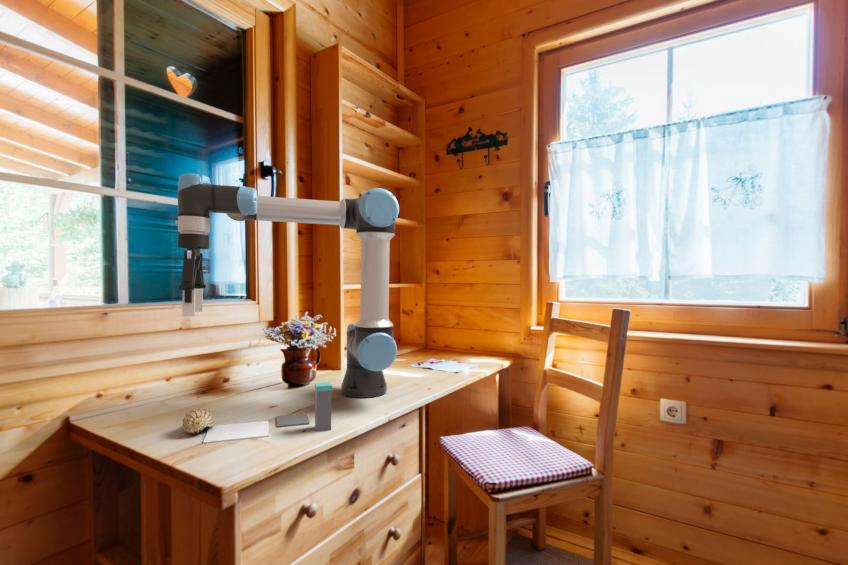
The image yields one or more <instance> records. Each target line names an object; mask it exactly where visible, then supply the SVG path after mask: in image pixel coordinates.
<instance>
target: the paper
mask: <svg viewBox="0 0 848 565" xmlns="http://www.w3.org/2000/svg"><path fill="white" fill-rule="evenodd" d="M269 428H270V427H269V420H262V421H250V422H242V423H241V422H240V423H229V424H218V425H215V426H213V427H208V430H207V432H206V433H205V436H204V439H203V443H202V444H211V443H218V442H219V443H221V442H230V441H238V440H239V441H240V440H248V439H257V438H268V437H270V436H269V434H270V433H269V431H270V430H269Z"/></svg>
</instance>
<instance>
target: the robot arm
mask: <svg viewBox="0 0 848 565" xmlns="http://www.w3.org/2000/svg"><path fill="white" fill-rule="evenodd" d="M211 213H213V214H226V215H227V217H229V218H230V219H232V221H237V222H244V221H260V222H261V221H262V222H276V223H277V222H279V223H280V222H281V223H295V224H296V223H297V224H313V225H315V224H316V225H329V226H331V225H332V226H339V227H340V228H341V229H343V230H344V229H347V230H356V232H355V233H356V234H355V235H356V236H357V237H358V238H359V239H360V243H361V244H360V304H359V306H360V310H359V311H360V313H359V320H358V321H356V322H355V323H350V324H348V326H347V328H346V371H345V372H344V376H343V380H342V383H341V386H340V393H341V395H343V396H345V397H349V398H359V399H365V398H375V397H380V396H383V395H385V394H386V393H387V391H388V387H387V382H386V379H385V375H384V372H383V371H384V370H386V369H388V368H390V366H392V365H393V364H394V362H395V360H396V358H397V355H398V346H397V343H396V340H395V339H394V323H393V322H392V321H391V320H390V318H389V316H390V315H389V314H390V313H389V308H390V306H389V304H390V251H391V250H390V245H391V243H390V241H391V240H392V239H393V238H394V237H395V235H396V234H395V233H396V232H395V231H396V221H397V219H398V216H399V213H400V205H399V202H398V200H397V198H396V196H395V195H394V194H393V193H392V192H391V191H390V190H388V189H385V188H379V187H375V188H371V189H368V190H366V191H364V192H363V193H362V194H361V196H360V197H356V198H342V199H341V200H339V201H336V200H325V199H324V200H323V199H322V200H321V199H309V198H308V199H307V198H296V197H295V198H294V197H293V198H292V197H280V196H279V197H278V196H269V195H268V196H267V195H258V191H257V189H256V188H254V187H249V186H245V185H242V186H236V185H225V184H224V185H221V184H213V183H211V179H210V177H208V176H207V175H203V174H198V173H184V174H181V175H180V176H178V184H177V220H175V221H174V223H175V225H177V232H179V233H178V234H177V244H176V245H177V248H179V249H186V250H183V252H182V253H183V261H182V272H181V280H180V281H181V282H180V285H179V286H178V290H179V291H182V298H181V299H182V301H181V302H182V306H181V307H182V308H181V309H182V313H181V314H182V317H195V316H196V312H197V313H200V312H201V313H202V312H204V311H203V310H204V299H203V298H204V296H203V295H204V289H206V288H207V285H206V284H205V282H204V279H205V278H204V267H203V266H204V265H203V260H204V257H203V256H204V254H203V253H201V250H209V248H210V236H209V235H208V234H210V232H211V231H210V230H211V229H210V228H211V219H210V218H211V217H210V214H211Z"/></svg>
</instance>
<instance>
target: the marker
mask: <svg viewBox="0 0 848 565" xmlns="http://www.w3.org/2000/svg"><path fill="white" fill-rule="evenodd" d="M314 390H315V392H314V393H315V394H314V398H315V399H314V401H315V403H314V404H315V405H314V415H315V416H314V428H315V431H316V432H322V431H323V432H324V431H325V432H326V431H332V391H333V384H332V382H330V381H325V382H315V383H314Z"/></svg>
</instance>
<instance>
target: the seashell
mask: <svg viewBox="0 0 848 565" xmlns="http://www.w3.org/2000/svg"><path fill="white" fill-rule="evenodd" d="M213 426H216V425H215V420H214V416H213V415H212V414H211V412H208V410H207V409H205V408H197V409H192V410H190V411H189V412H188V413H186V414H185V416H184V418H183V419H182V427H183V429H184V432H186V433H188V434H191V435H195V434H199V433H201V432H203V430H204V429H205V428H207V427H208V428H209V427H213Z"/></svg>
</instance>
